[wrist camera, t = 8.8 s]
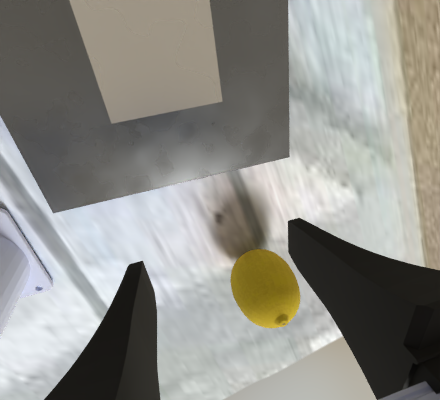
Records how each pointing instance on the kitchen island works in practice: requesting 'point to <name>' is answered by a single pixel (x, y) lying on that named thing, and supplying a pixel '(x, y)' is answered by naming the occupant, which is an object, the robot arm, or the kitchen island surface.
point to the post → (150, 54)
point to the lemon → (265, 288)
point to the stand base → (147, 126)
